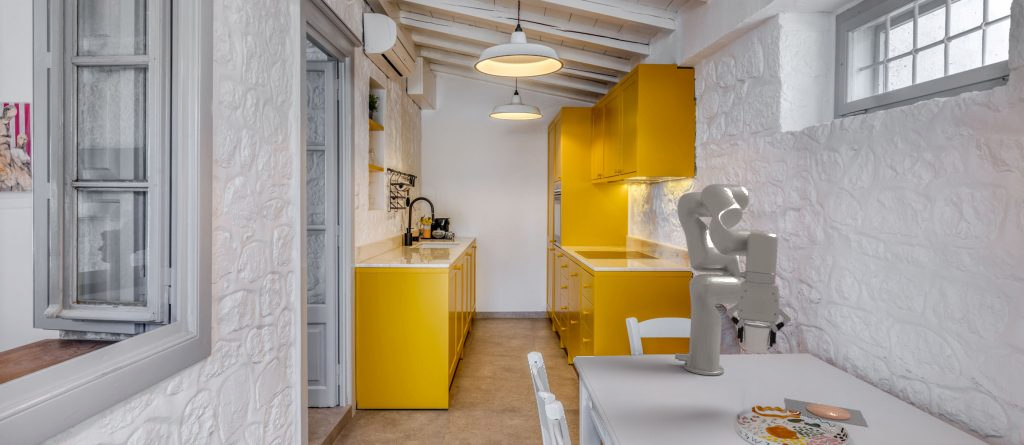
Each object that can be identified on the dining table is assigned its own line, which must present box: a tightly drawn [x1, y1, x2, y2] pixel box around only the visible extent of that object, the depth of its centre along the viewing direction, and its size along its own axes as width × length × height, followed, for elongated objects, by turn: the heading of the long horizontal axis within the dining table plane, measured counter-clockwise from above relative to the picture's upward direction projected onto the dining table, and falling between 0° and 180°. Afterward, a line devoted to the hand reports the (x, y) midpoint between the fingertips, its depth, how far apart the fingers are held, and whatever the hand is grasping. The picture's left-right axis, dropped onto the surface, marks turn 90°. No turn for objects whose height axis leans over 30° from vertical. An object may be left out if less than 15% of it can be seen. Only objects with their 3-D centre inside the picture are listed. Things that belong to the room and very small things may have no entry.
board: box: [784, 398, 869, 428], centre depth 144 cm, size 18×12×2 cm, turn 66°
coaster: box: [807, 403, 851, 420], centre depth 143 cm, size 10×10×1 cm
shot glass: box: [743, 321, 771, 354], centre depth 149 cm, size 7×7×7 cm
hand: (756, 343), depth 149 cm, fingers closed on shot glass, 6 cm apart
